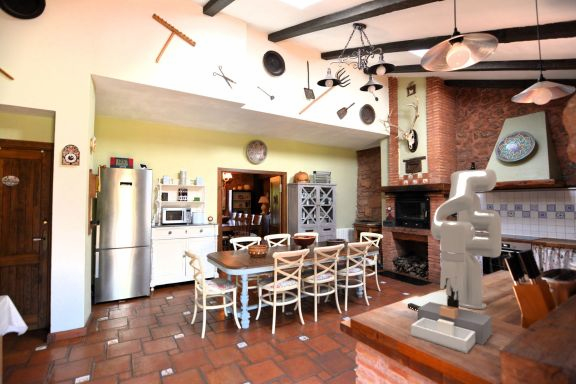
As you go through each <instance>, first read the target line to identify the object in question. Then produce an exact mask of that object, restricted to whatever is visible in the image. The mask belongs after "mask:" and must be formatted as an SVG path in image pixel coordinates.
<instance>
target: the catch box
mask: <svg viewBox="0 0 576 384" xmlns="http://www.w3.org/2000/svg"><path fill="white" fill-rule="evenodd" d="M410 336H411V337H414V338H417V339H420V340H423V341H425V342H429V343H432V344H435V345H438V346H441V347H444V348H448V349H449V350H450V349H451V350H453V351H457V352H460V353H463V354H468V353H469V351H470V350H471V349H472V348H473V347H474V345H475V344H477V343H476V336H475V331H471V330H467V329H464V328H460V327H456V326H454V336H450V335H447V334H444V333H440V332H437V321H434V320H430V319H427V318H421V319H420V320H418V319H417V321H415V322H413V323H412V324H411V325H410Z"/></svg>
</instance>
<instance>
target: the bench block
mask: <svg viewBox="0 0 576 384" xmlns="http://www.w3.org/2000/svg"><path fill="white" fill-rule="evenodd" d="M443 305H444V304H442V303H441V304H440V303H436V302H432V301H428V302H427V303H425V304H424V305H422V306H421V305H420V306H421V307H420V308H418V311H417V321H418V320H420V319H421V318H427V319H430V320H434V321H437V320H439V319H442V320H446V321H450V322H454V326H456V327H460V328H464V329H467V330H471V331H475V336H476V343H475V344H479V345H482V346H484V345H485V343H486V342H487V341H488V340H489V339H490V337H491V336H492V335H491V333H493V331H492V330H493V328H492V327H493V325H492V323H493V322H492V320H493V319H492V315H488V314H484V313H481V312H480V313H479V312H474V311H470V310H466V309H463V308H459V316H457V317H456V318H455V319H453V318H449V317H445V316H441V315H440V307H441V306H443ZM490 335H491V336H490ZM489 336H490V337H489ZM487 339H488V340H487Z"/></svg>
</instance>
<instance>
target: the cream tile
mask: <svg viewBox="0 0 576 384" xmlns="http://www.w3.org/2000/svg"><path fill="white" fill-rule="evenodd" d="M437 332H440V333H444V334H447V335H450V336H454V322H450V321H446V320H442V319H439V320H437Z"/></svg>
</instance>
